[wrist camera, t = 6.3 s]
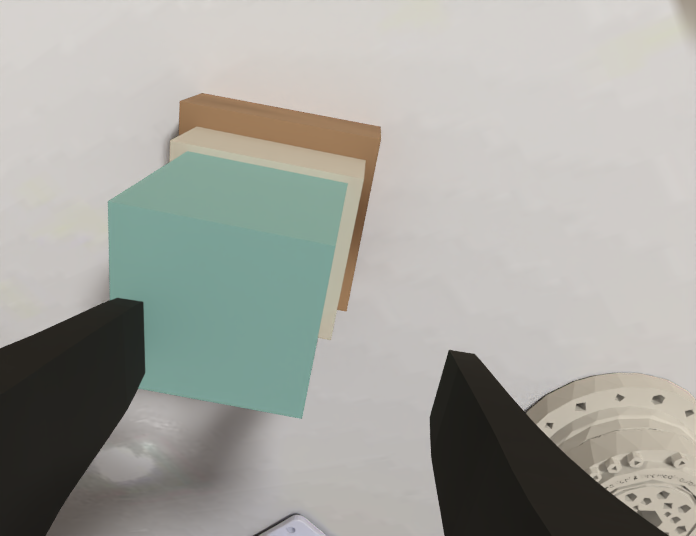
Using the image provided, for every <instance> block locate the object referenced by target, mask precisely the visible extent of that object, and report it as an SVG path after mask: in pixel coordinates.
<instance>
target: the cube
mask: <svg viewBox="0 0 696 536" xmlns="http://www.w3.org/2000/svg"><path fill="white" fill-rule="evenodd" d="M347 186H348V183H344V182H339V181H334V180H329V179H324V178H319V177H314V176H309V175H304V174H299V173H294V172H289V171H284V170H279V169H274V168H269V167H264V166H259V165H254V164H249V163H244V162H239V161H234V160H229V159H224V158H219V157H214V156H209V155H204V154H199V153H194V152H189V151H187V152H185V153H184V154H182V155H180V156H179V157H177V158H176V159H174V160H173V161H171V162H169V163H168V164H166V165H165V166H163V167H161V168H160V169H158V170H157V171H155V172H154V173H152V174H150V175H149V176H147V177H146V178H144V179H143V180H141V181H139V182H138V183H136V184H135V185H133V186H131V187H130V188H128V189H127V190H125V191H124V192H122V193H120V194H119V195H117V196H116V197H114V198H113V199H111V200H109V201H108V230H109V282H110V300H112V299H115V298H123V299H129V300H136V301H142V302H144V339H145V375H144V377H143V379H142V381H141V383H140V385H139V388H138V389H144V390H149V391H155V392H160V393H165V394H171V395H176V396H182V397H187V398H192V399H198V400H203V401H209V402H214V403H220V404H225V405H230V406H236V407H241V408H247V409H252V410H257V411H263V412H268V413H274V414H279V415H284V416H290V417H295V418H301V419H302V416H303V411H304V406H305V400H306V395H307V390H308V385H309V380H310V375H311V370H312V365H313V360H314V355H315V349H316V344H317V339H318V334H319V329H320V324H321V319H322V314H323V309H324V303H325V298H326V293H327V288H328V283H329V278H330V273H331V268H332V262H333V257H334V252H335V247H336V242H337V237H338V232H339V227H340V221H341V216H342V211H343V206H344V201H345V196H346V191H347Z"/></svg>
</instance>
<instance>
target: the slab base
mask: <svg viewBox="0 0 696 536" xmlns="http://www.w3.org/2000/svg"><path fill="white" fill-rule="evenodd" d="M195 127H202V128H207V129H212V130H217V131H222V132H227V133H232V134H237V135H242V136H247V137H252V138H257V139H262V140H267V141H272V142H277V143H282V144H287V145H292V146H297V147H302V148H307V149H312V150H317V151H322V152H327V153H332V154H337V155H342V156H347V157H352V158H357V159H362V160H366V162H365V173H364V181H363V186H362V191H361V196H360V201H359V206H358V210H357V215H356V220H355V225H354V230H353V235H352V240H351V244H350V249H349V254H348V259H347V264H346V269H345V273H344V278H343V283H342V288H341V293H340V298H339V302H338V307H337V310H341V311H347V306H348V301H349V296H350V291H351V286H352V281H353V276H354V271H355V266H356V261H357V256H358V251H359V246H360V241H361V236H362V231H363V226H364V221H365V216H366V211H367V206H368V201H369V196H370V191H371V186H372V181H373V176H374V171H375V166H376V161H377V156H378V151H379V146H380V141H381V127H379V126H374V125H368V124H363V123H358V122H352V121H347V120H342V119H336V118H331V117H326V116H320V115H315V114H310V113H305V112H299V111H294V110H289V109H283V108H278V107H273V106H267V105H262V104H257V103H252V102H246V101H241V100H236V99H230V98H225V97H220V96H214V95H209V94H204V93H202V94H199V95H196V96H193V97H190V98H188V99H185V100H182V101H180V111H179V136H180V135H182V134H184V133H185V132H187V131H189V130H191V129H193V128H195Z"/></svg>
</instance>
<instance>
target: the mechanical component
mask: <svg viewBox="0 0 696 536" xmlns="http://www.w3.org/2000/svg"><path fill="white" fill-rule="evenodd" d="M526 414H527V415H528V416H529V418H530V419H531V420H532V421H533V422H534V423H535V424H536V425H537V426H538V427H539V428H540V429H541V430H542V431H543V432H544V433H545V434H546V435H547V436H548V437H549V438H550V439H551V440H552V441H553V442H554V443H555V444H556V445H557V446H558V447H559V448H560V449H561V450H562V451H563V452H564V453H565V454H566V455H567V456H568V457H569V458H570V459H572V460H573V461H574V462H575V463H576V464H577V465H578V466H580V467H581V468H582V469H583V470H584V471H585V472H586V473H588V474H589V475H590V476H591V477H592V478H593V479H594V480H596V481H597V482H598V483H599V484H600V485H602V486H603V487H604V488H605V489H607V490H608V491H609V492H610V493H612V494H613V495H614V496H615V497H617V498H618V499H619V500H621V501H622V502H623V503H625V504H626V505H627V506H629V507H630V508H631V509H633V510H634V511H635V512H636V513H638V514H639V515H640V516H642V517H643V518H645V519H646V520H647V521H649V522H650V523H652V524H653V525H654V526H656V527H657V528H659V529H660V530H662V531H663V532H664V533H666V534H667V535H669V536H696V399H695V398H694V397H693V396H692V395H691V394H690V393H689V392H688V391H687V390H685V389H683V388H681V387H679V386H678V385H676V384H674V383H672V382H670V381H669V380H666V379H662V378H657V377H653V376H649V375H645V374H640V373H612V374H605V375H598V376H593V377H589V378H585V379H581V380H578V381H574V382H572V383H570V384H568V385H566V386H564V387H562V388H560V389H558V390H556V391H554V392H552V393H550V394H548V395H546V396H545V397H544V398H543V399H542V400H540V401H539V402H538V403H537V404H535V405H534V406H533V407H532V408H531V409H529V410H528V411H527V412H526Z"/></svg>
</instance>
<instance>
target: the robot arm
mask: <svg viewBox="0 0 696 536" xmlns="http://www.w3.org/2000/svg"><path fill="white" fill-rule="evenodd" d="M144 375H145V339H144V302H142V301H136V300H129V299H123V298H115V299H112V300H110V301H107V302H105V303H102V304H100V305H98V306H96V307H93V308H91V309H89V310H87V311H85V312H82V313H80V314H78V315H76V316H74V317H72V318H69V319H67V320H65V321H63V322H61V323H58V324H56V325H54V326H52V327H50V328H47V329H45V330H43V331H41V332H39V333H36V334H34V335H32V336H29V337H27V338H24V339H22V340H20V341H17V342H15V343H12V344H10V345H7V346H5V347H3V348H0V536H46V534H47V532H48V530H49V528H50V527H51V525H52V523H53V521H54V519H55V518H56V516H57V514H58V512H59V511H60V509H61V507H62V506H63V504H64V503H65V501H66V499H67V498H68V496H69V495H70V493H71V491H72V490H73V489H74V487H75V486H76V484H77V483H78V481H79V480H80V478H81V477H82V475H83V474H84V473H85V471H86V470H87V468H88V467H89V465H90V464H91V462H92V461H93V459H94V458H95V457H96V455H97V454H98V452H99V451H100V449H101V448H102V446H103V445H104V444H105V442H106V441H107V439H108V438H109V436H110V435H111V433H112V432H113V430H114V429H115V427H116V426H117V424H118V423H119V421H120V420H121V418H122V417H123V415H124V414H125V412H126V411H127V409H128V407H129V405H130V403H131V401H132V400H133V398H134V396H135V394H136V392H137V390H138V388H139V385H140V383H141V381H142V379H143V377H144ZM430 441H431V458H432V465H433V471H434V477H435V483H436V489H437V495H438V500H439V506H440V512H441V518H442V524H443V529H444V535H445V536H669V535H667V534H666V533H664V532H663V531H662V530H660V529H659V528H657V527H656V526H654V525H653V524H652V523H650V522H649V521H647V520H646V519H645V518H643V517H642V516H640V515H639V514H638V513H636V512H635V511H634V510H633V509H631V508H630V507H629V506H627V505H626V504H625V503H623V502H622V501H621V500H619V499H618V498H617V497H615V496H614V495H613V494H612V493H610V492H609V491H608V490H607V489H605V488H604V487H603V486H602V485H600V484H599V483H598V482H597V481H596V480H594V479H593V478H592V477H591V476H590V475H589V474H588V473H586V472H585V471H584V470H583V469H582V468H581V467H580V466H578V465H577V464H576V463H575V462H574V461H573V460H572V459H570V458H569V457H568V456H567V455H566V454H565V453H564V452H563V451H562V450H561V449H560V448H559V447H558V446H557V445H556V444H555V443H554V442H553V441H552V440H551V439H550V438H549V437H548V436H547V435H546V434H545V433H544V432H543V431H542V430H541V429H540V428H539V427H538V426H537V425H536V424H535V423H534V422H533V421H532V420H531V419H530V418H529V416H528V415H527V414H526V413H525V412H524V411H523V410H522V409H521V408H520V406H519V405H518V404H517V403H516V402H515V401H514V400H513V398H512V397H511V396H510V395H509V394H508V393H507V391H506V390H505V389H504V388H503V387H502V386H501V384H500V383H499V382H498V381H497V380H496V378H495V377H494V376H493V375H492V374H491V372H490V371H489V370H488V369H487V368H486V366H485V365H484V364H483V363H482V362H481V360H480V359H479V358H478V357H477V356H476V355H475V354H471V353H465V352H459V351H452V350H449V352H448V355H447V359H446V362H445V366H444V369H443V373H442V376H441V380H440V383H439V387H438V390H437V394H436V397H435V401H434V404H433V408H432V411H431V415H430ZM259 536H327V535H325V534H324V533H323V532H322V531H321V530H319V529H318V528H317V527H316V526H314V525H313V524H312V523H311V522H310V521H308V520H307V519H306V518H305V517H303V516H302V515H294V516H291V517H290V518H288V519H286V520H285V521H283V522H281V523H279V524H278V525H276V526H274V527H272V528H271V529H269V530H267V531H266V532H264V533H262V534H260V535H259Z"/></svg>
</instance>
